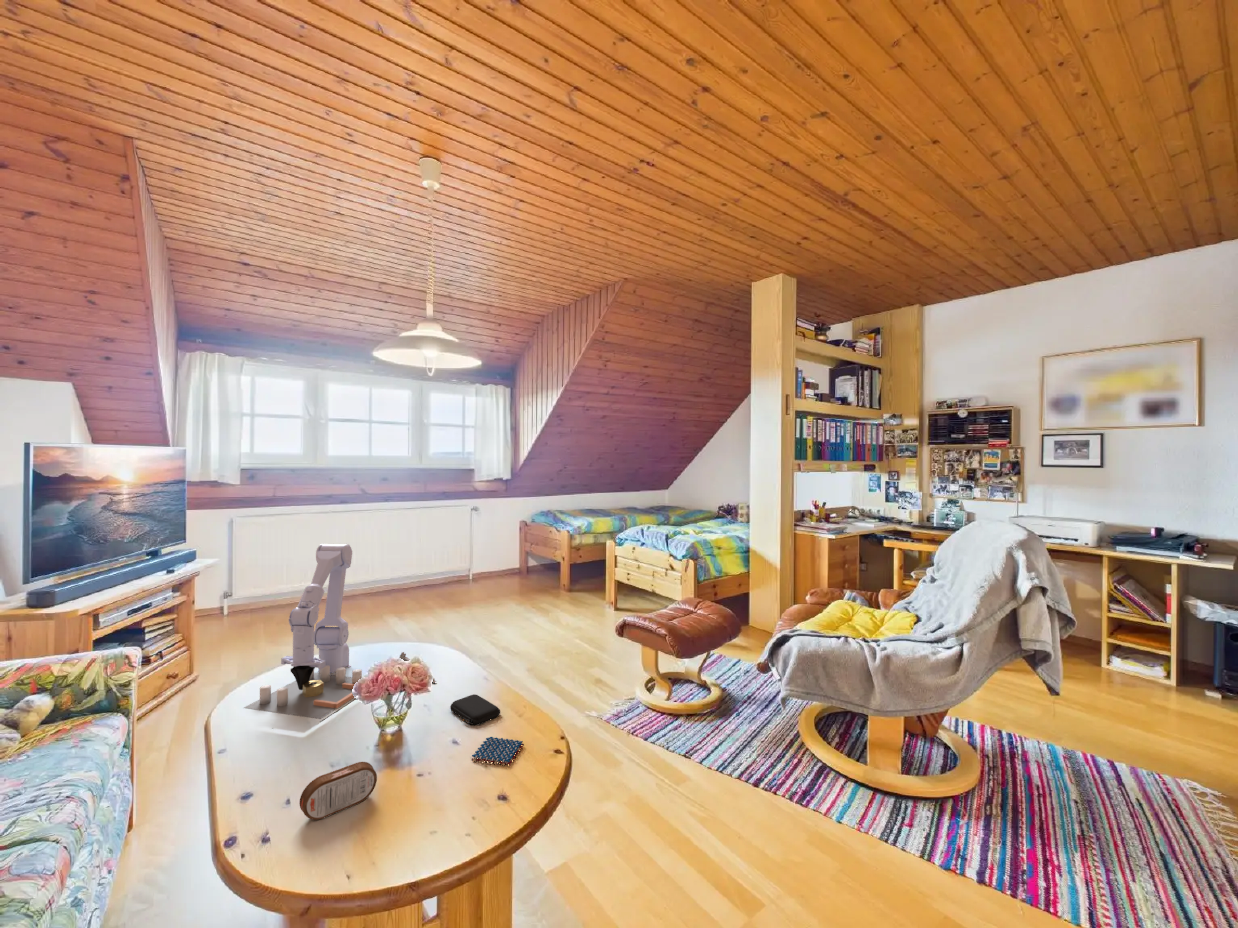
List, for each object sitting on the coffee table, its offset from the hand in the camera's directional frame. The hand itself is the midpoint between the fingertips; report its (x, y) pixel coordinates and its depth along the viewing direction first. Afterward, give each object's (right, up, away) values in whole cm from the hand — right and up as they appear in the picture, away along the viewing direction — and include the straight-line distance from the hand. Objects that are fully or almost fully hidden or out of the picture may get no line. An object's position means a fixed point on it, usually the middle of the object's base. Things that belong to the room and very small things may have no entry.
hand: (303, 688), depth 168 cm
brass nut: (+4, -1, -1) cm, 4 cm away
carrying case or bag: (+56, -4, -9) cm, 57 cm away
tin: (+39, -5, -52) cm, 65 cm away
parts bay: (+13, -1, -3) cm, 14 cm away
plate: (+4, -2, -1) cm, 5 cm away
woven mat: (+68, -5, -29) cm, 74 cm away
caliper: (+30, -3, +16) cm, 34 cm away
